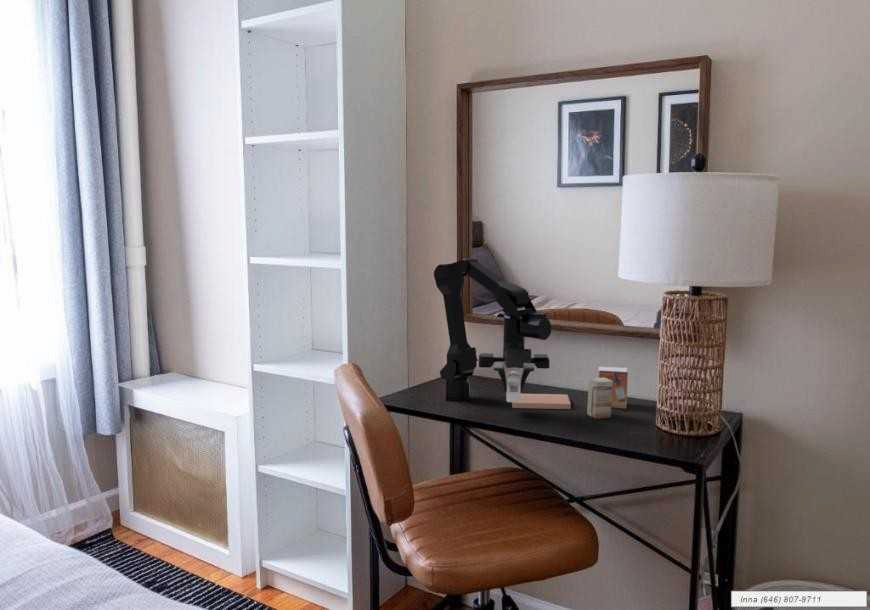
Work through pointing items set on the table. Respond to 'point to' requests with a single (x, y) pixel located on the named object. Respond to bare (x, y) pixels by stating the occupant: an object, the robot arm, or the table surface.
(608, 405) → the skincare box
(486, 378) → the table surface
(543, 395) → the terracotta tile
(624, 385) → the small box
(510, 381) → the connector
